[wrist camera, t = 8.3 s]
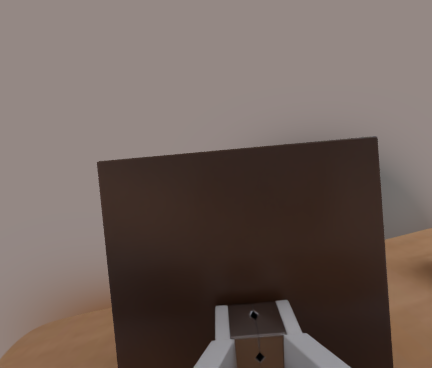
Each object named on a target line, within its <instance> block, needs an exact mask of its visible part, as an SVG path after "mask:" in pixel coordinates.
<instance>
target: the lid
mask: <svg viewBox="0 0 432 368" xmlns="http://www.w3.org/2000/svg"><path fill="white" fill-rule="evenodd" d="M97 168H98V177H99V187H100V196H101V207H102V216H103V226H104V235H105V245H106V255H107V265H108V274H109V284H110V293H111V303H112V313H113V323H114V333H115V342H116V352H117V362H118V368H193V367H194V366H195V364H196V363H197V362H198V360H199V359H200V357H201V356H202V354H203V353H204V351H205V350H206V348H207V347H208V345H209V344H210V342H211V341H215V307H216V306H219V305H232V304H249V303H261V302H272V301H279V300H288V301H289V304H290V306H291V308H292V310H293V313H294V315H295V317H296V319H297V322H298V324H299V326H300V329H301V331H302V333H307V334H308V335H310V336H311V337H312V338H313V339H315V340H316V341H317V342H319V343H320V344H321V345H322V346H324V347H325V348H326V349H328V350H329V351H330V352H332V353H333V354H334V355H335V356H337V357H338V358H339V359H341V360H342V361H343V362H344V363H346V364H347V365H348V366H350V367H351V368H393V356H392V342H391V327H390V313H389V298H388V284H387V269H386V255H385V241H384V226H383V212H382V199H381V198H382V197H381V183H380V168H379V154H378V139H377V137H376V136H373V137H362V138H351V139H340V140H329V141H318V142H307V143H296V144H285V145H274V146H264V147H253V148H241V149H230V150H219V151H209V152H198V153H186V154H175V155H164V156H153V157H142V158H132V159H121V160H109V161H99V162H97Z"/></svg>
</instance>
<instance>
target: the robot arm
mask: <svg viewBox="0 0 432 368" xmlns="http://www.w3.org/2000/svg"><path fill="white" fill-rule="evenodd" d="M193 368H351V367H350V366H348V365H347V364H346V363H344V362H343V361H342V360H341V359H339V358H338V357H337V356H335V355H334V354H333V353H332V352H330V351H329V350H328V349H326V348H325V347H324V346H322V345H321V344H320V343H319V342H317V341H316V340H315V339H313V338H312V337H311V336H310V335H308V334H307V333H302V331H301V329H300V326H299V324H298V322H297V319H296V317H295V315H294V313H293V310H292V308H291V306H290V304H289V301H288V300H279V301H272V302H261V303H249V304H232V305H219V306H216V307H215V341H211V342H210V344H209V345H208V347H207V348H206V350H205V351H204V353H203V354H202V356H201V357H200V359H199V360H198V362H197V363H196V364H195V366H194V367H193Z"/></svg>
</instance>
